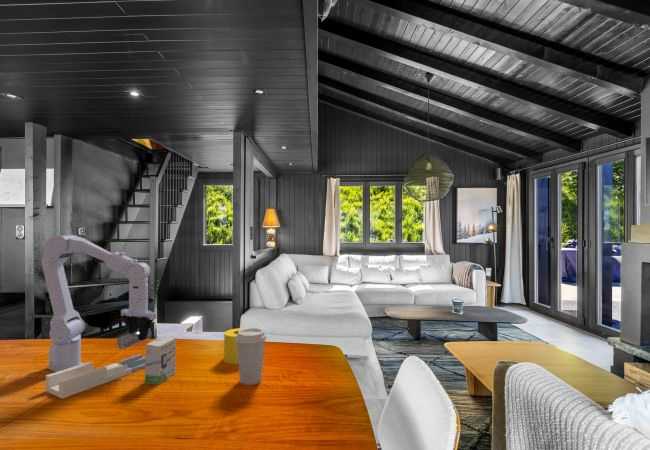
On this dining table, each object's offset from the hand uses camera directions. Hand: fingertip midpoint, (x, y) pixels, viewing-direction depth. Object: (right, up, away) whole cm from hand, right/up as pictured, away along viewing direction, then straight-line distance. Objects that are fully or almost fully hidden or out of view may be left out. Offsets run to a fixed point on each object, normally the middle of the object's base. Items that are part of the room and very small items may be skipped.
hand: (138, 338), depth 123 cm
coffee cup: (+41, -10, -11) cm, 43 cm away
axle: (0, +1, -1) cm, 1 cm away
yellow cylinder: (+32, -10, +7) cm, 35 cm away
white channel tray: (-8, -9, -13) cm, 18 cm away
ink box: (+12, -9, -10) cm, 19 cm away
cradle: (-1, -9, -1) cm, 9 cm away
